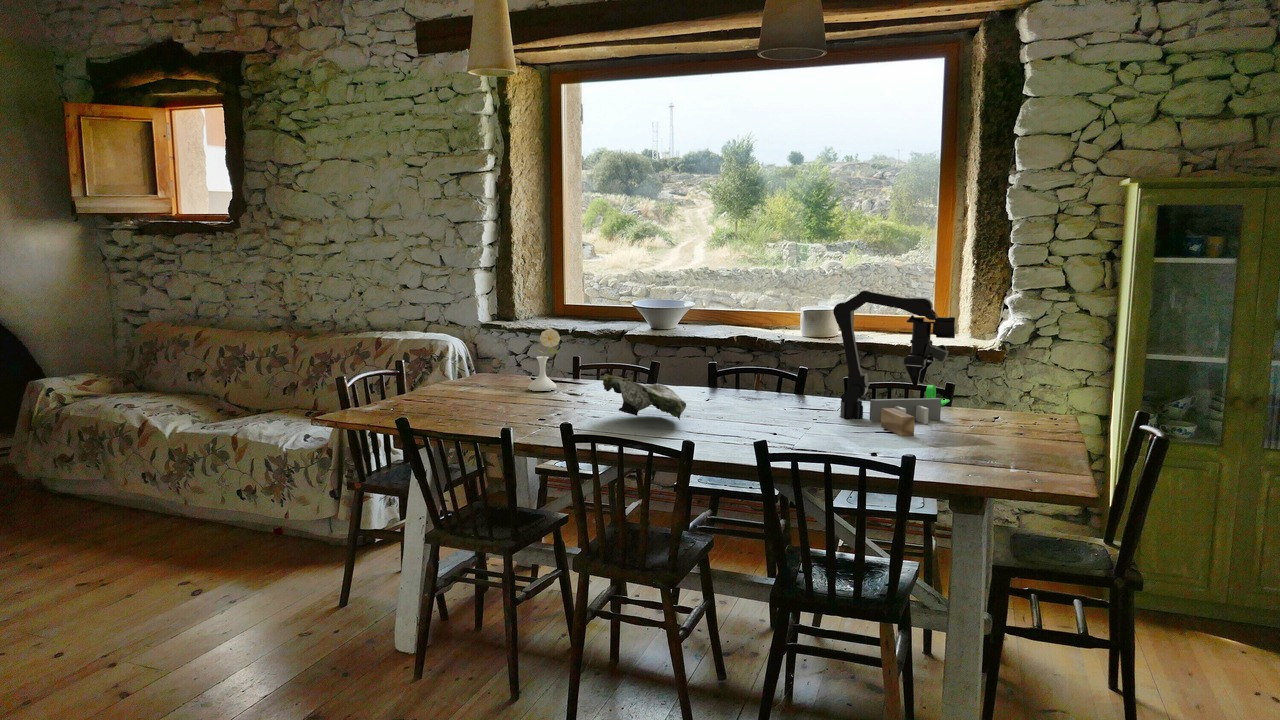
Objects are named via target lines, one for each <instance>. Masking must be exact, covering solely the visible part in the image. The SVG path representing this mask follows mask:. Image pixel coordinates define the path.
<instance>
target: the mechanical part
mask: <svg viewBox="0 0 1280 720" xmlns="http://www.w3.org/2000/svg"><path fill="white" fill-rule="evenodd" d="M925 398H937V388H936V385H934V384H927V386H926V389H925ZM938 398H939V397H938ZM939 399H941V407H943V406H945V405H946V404H948V403H949V402H950V401H951V400H950V399H948V398H939ZM943 399H945V400H943Z"/></svg>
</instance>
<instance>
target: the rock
mask: <svg viewBox="0 0 1280 720" xmlns="http://www.w3.org/2000/svg"><path fill="white" fill-rule="evenodd" d="M602 386H603V387H604V388H603V390H605V391H606V392H609V391H611V390H612V389H613V391H614V392H615V393H616V394H621V397H622V406H621V407H618V408H619V409H618V411H619V412H622V413H625V414H628V415H633V416H636V417H637V416H638V413H639V411H642V410H645V409H646V408H649V407H650V406H653V407H655V409H656V410H659V411H660V412H662V413H667V414H670V415H671V416H672V417H674V418H677V419H678V420H679V421H680V420H681V415H682V414H683V412H684V411H685V410H686V407H687V402H686V401H684V400H683V399H682V398H681V397H680V396H679V395H678V394H677V393H676V392H675V391H674V390H673V389H671V388H670V387H668V386H666V385H664V384H663V383H662V384H661V383H653V384H641V383H639V382H638V383H637V382H635V381H633V379H632V378H631V377H627V378H626V377H624V378H623V377H620V376H617V375H611V374H608V373H604V375H603V381H602Z"/></svg>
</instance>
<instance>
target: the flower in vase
mask: <svg viewBox="0 0 1280 720" xmlns="http://www.w3.org/2000/svg"><path fill="white" fill-rule="evenodd" d="M560 340H561V336H560V334H559V332H558V331H557V330H554V329H551V328H549V329H544V331H542V332H541V334H540V336H539V341H540V343H541V345H542V346H544V347H546V348H547V347H548V348H547V350H546V352H544V351H543V350H541V349H538V348H535V349H536V351H538V352H539V353H542V354H544V355H543V356H536V360H537V361H538V366H539V372H538V373H539V374H538V376H537V377H536V378H535V379H534V380H533V381H532V382H531V383H530V384H529V385H528V387H527V388H528V390H529V391H531V390H532V392H535V391H549V392H552V391H551V390H553V391H555V390H557V387H558V386H557V384H556V383H555V382H554V381H552V380H551V379H550V378H549V377H548V376H547V373H546V366H547V365H546V364H547V362H548V359H549V358H550V357H549V356H546V355H547V354H548V352H549V353H550V355H555V354H559V353H560V352H559V350H558V349H556V348H555V347H557V346H558V345H559V342H560Z"/></svg>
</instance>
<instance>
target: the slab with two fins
mask: <svg viewBox="0 0 1280 720" xmlns="http://www.w3.org/2000/svg"><path fill="white" fill-rule="evenodd" d="M941 399H942V398H940V399H939V397H936V398H926V397H925V398H924V397H923V398H884V399H883V398H878V399H874V398H873V399H869V402H870V403H869V421H870V422H881V408H894V409H897V410H899V411H901V412H904V413H906V414H909V415H911V416H913V417H915V422H919V423H920V424H921V423H922V424H923V425H926V424H927V425H928V424H929V421H940V420H941V414H942V413H941V412H942V406H941Z"/></svg>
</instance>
